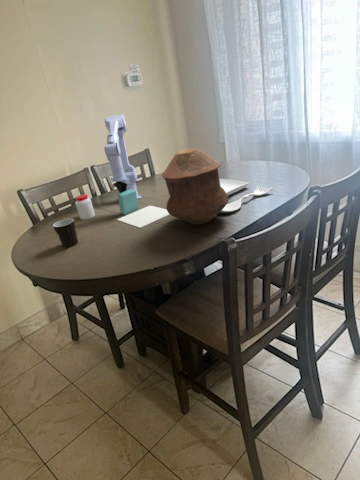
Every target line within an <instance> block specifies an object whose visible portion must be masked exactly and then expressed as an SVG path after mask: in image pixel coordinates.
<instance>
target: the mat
mask: <svg viewBox="0 0 360 480" xmlns="http://www.w3.org/2000/svg"><path fill="white" fill-rule="evenodd" d="M168 216H171V215H170V214H169V213H168V211H167V208H163V207H158V206H154V205H147V206H145V207H143V208H140V209H138V210H136V211H134V212H131V213H129V214H126V215H124V216H122V217H119V218H117V219H116V221H119V222H122V223H124V224H127V225H130V226H133V227H136V228H139V229H142V228H143V227H146V226H148V225H151V224H152V223H155V222H157V221H159V220H162V219H163V218H166V217H168Z"/></svg>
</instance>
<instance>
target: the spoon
mask: <svg viewBox="0 0 360 480" xmlns="http://www.w3.org/2000/svg"><path fill="white" fill-rule="evenodd" d="M273 190H274V186H272V187H267V188H266V187H262V186H260V185H259V184H258V185H256V188H255V189H254V191H253V192H252V193H251V192H250V193H247V194H245V195H242V196H241V197H240V198H239V199H237V200H235V201H233V202H229V203H227V204H226V206H225V207H224V208H223V209H222V210H221V211H220V212H219V213H232V212H236V211H237V210H239V209H240V208H241V206H242V201H243V200H244V199H247V198H249V197H251V196H253V197H260V196H264V195H266V194H267V193H269V192H272V191H273Z"/></svg>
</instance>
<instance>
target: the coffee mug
mask: <svg viewBox="0 0 360 480" xmlns="http://www.w3.org/2000/svg"><path fill="white" fill-rule="evenodd" d="M52 227H53V229H54V231H55V233H56V235H57V238H58V239H59V242H60V244H61V245H62V247H63V248H65V249H66V248H67V249H68V248H71V247H74V246H76V245H77V244H79V241H78V240H79V239H78V234H77V230H76V229H77V228H76V224H75V220H74V218H65V219H61V220H59V221H56V222H54V223H53V224H52Z"/></svg>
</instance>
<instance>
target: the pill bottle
mask: <svg viewBox="0 0 360 480" xmlns="http://www.w3.org/2000/svg"><path fill="white" fill-rule="evenodd" d="M75 199H76V201H75V207H76V210H77V213H78V215H79V219H80V220H88V219H92V218H94V217H95V216H96V211H95V208H94V206H93V203H92V199H91V198H90V197H88V194H86V193H85V194H80V195H79V194H78V196H76V197H75Z"/></svg>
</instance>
